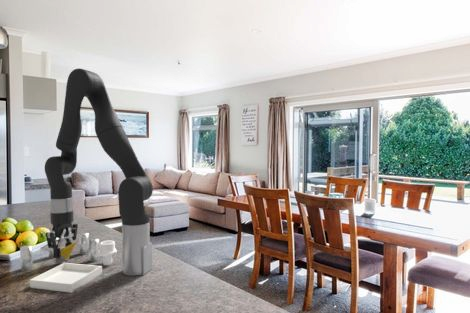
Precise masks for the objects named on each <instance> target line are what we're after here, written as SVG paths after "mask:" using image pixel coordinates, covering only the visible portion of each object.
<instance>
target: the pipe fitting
mask: <svg viewBox="0 0 470 313" xmlns="http://www.w3.org/2000/svg"><path fill="white" fill-rule="evenodd" d="M115 246H116V242H115V241H114V240H112V239H111V240H103V241H101V242H99V251H98V256H99V257H102V264H103V266H111V265H112V264H113V256H114V255H117V254H118V253H117V252H118V251H117V248H116V247H115Z"/></svg>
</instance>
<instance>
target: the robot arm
mask: <svg viewBox="0 0 470 313" xmlns="http://www.w3.org/2000/svg"><path fill="white" fill-rule="evenodd" d="M64 97H65V98H64V103H63V104H64V105H63V106H64V107H63V112H62V113H63V114H62V120H61V124H60V128H59V132H58V134H57V135H58V136H57V138H56V142H55V147H56V148H57V150H59V151H60V152H61V155H60V156H59V155H57V156H56V155H55V156H50V157H48V158H47V160H46V161H45V163H44V173H45V176H46V180H47V182H48V185H49V188H50V189H49V190H50V201H49V202H50V203H49V212H50V214H49V216H50V224H51V225H52V230H51V231H48V232H45V237H46V238H45V239H46V242H47V248H48V249H49V248H53V254H54V258H53V259H59V258H60V257H61V244H62V243H63V241H65V243H64V244H65V246H64V248H65V247H67V246H69V245H71V244H73V243H74V241H76V240H77V234H78V226H79V225H78V224H76V223H73V222H74V202H73V186H72V183H71V182H69V181H66V180H65V177H64V176H65V175H70V174H72V173H73V172H74V171H75V169H76V167H77V163H78V158H77V157H78V145H79V141H80V140H81V135H82V130H83V129H82V128H83V126H82V117H81V108H82V103H83V101H84V98H87V100H88V101H89V104H90V105H91V107H92V110H93V112H94V132H95V134H96V137H97V139H98V142H99V144H100V145H101V148H102V149H103V151H104V153H106V155H107V156H108V157H109V158H111V160H112V161H113V162H114V163H116V165H117V166H118V167H119V168H120V170H121V172H122V173H123V175H124V177H125V178H124V179H123V180H122V181H121V182H120V184H119V186H118V192H117V193H118V196H117V197H118V212H119V216H120V217H121V244H122V245H121V246H122V247H121V248H122V249H121V250H122V252H121V254H122V274H123V275H125V276H130V277H133V276H145V275H146V274H147V273H149V272H150V271H151V270H152V269H153V242H151V241H150V240H151V239H150V238H151V237H150V233H151V232H150V231H151V230H150V226H151V225H150V221H151V220H150V213H148V212H146V211H145V201H147V200H149V199H150V198H151V196H152V195H153V192H154V187H153V183H152V180H151V179H150V177H149V176H148V174H147V173H146V170H145V169H144V168H143V166H142V164H141V162H140V161H139V159H138V157H137V155H136V153H135V150H134V149H133V146H132V144H131V142H130V140H129V139H128V135H127V133H126V132H125V129H124V127H123V125H122V123H121V121H120V119H119V118H118V114H117V113H116V111H115V109H114V107H113V104H112V102H111V100H110V97H109V93H108V91H107V88H106V86H105V83H104V81H103V78H102V77H101V76H100V75H99V74H98V73H96V72H94V71H90V70H87V69H84V68H75V69H73V70H71V72H70V73H69V74H68V77H67V82H66V87H65V95H64ZM56 238H59V239H56ZM57 242H58V244H57V245H56V243H57ZM51 243H52V244H51ZM72 252H73V251H72ZM72 252H71V254H72Z"/></svg>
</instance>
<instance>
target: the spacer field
mask: <svg viewBox="0 0 470 313" xmlns="http://www.w3.org/2000/svg"><path fill="white" fill-rule="evenodd" d="M89 233H90V232H81V233H79V234H78V248H79V249H78V252H79V255H80V256H81V255H83V256H84V255H88V256H89V257H88V258H89V259H88V261H89V262H90V263H95V262H96V263H97V262H98V261H100V259H101V258H100V257H101V256H98V251H99V250H100V238H98V237H96V238H93V237H92V238H90V237H89V236H90V234H89ZM56 239H60V238H56ZM51 244H52V243H51ZM57 244H58V242H57V243H56V245H57ZM19 251H20V253H19V254H20V256H19V257H20V271H21V272H27V271H31V270H33V268H34V267H33V266H34V265H33V263H34V262H33V259H34V258H33V245H31V244H30V245H29V244H28V245H21V246H20V248H19ZM48 258H49V259H55V258H54V254H53V248H48Z"/></svg>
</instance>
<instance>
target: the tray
mask: <svg viewBox="0 0 470 313" xmlns="http://www.w3.org/2000/svg"><path fill="white" fill-rule="evenodd" d="M102 274H103V266H102V265H93V264H82V263H73V262H72V263H70V262H62V263H61V264H59V265H56V266H55V267H53V268H51V269H49V270H47V271H45V272H43V273H41V274H39V275H36V276H35V277H33V278H31V279H29V288H30V289H37V290H38V289H39V290H45V291H46V290H47V291H54V292H55V291H56V292H62V293H63V292H64V293H72V294H73V292H75V291H77V290H78V289H80V288H81V287H83V286H85V285H86V284H88V283H89V282H91V281H92V280H94V279H95V278H97V277H99V276H100V275H102Z"/></svg>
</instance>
